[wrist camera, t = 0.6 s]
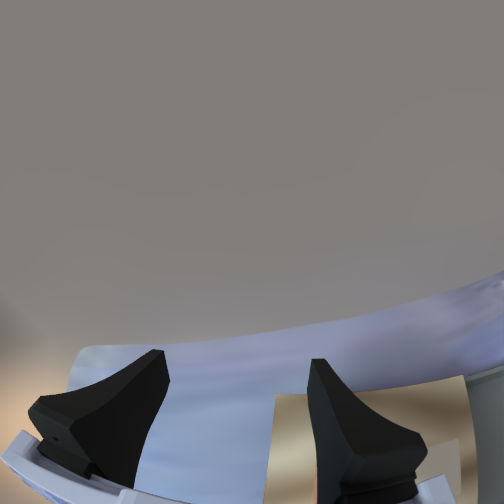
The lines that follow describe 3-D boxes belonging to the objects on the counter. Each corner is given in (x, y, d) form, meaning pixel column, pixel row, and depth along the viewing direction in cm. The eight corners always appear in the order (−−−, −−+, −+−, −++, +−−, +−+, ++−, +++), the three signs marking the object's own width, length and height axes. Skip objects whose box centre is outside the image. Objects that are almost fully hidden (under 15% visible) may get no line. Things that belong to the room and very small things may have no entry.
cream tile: (445, 496, 9) (461, 493, 8) (389, 512, 10) (400, 513, 8) (443, 445, 13) (458, 438, 11) (390, 458, 14) (401, 453, 12)
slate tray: (541, 484, 4) (556, 478, 2) (413, 554, 7) (425, 558, 5) (523, 364, 19) (534, 352, 17) (413, 397, 23) (423, 386, 21)
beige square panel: (440, 538, 7) (473, 540, 3) (258, 564, 11) (248, 582, 7) (436, 400, 21) (462, 374, 17) (279, 414, 24) (275, 393, 20)
